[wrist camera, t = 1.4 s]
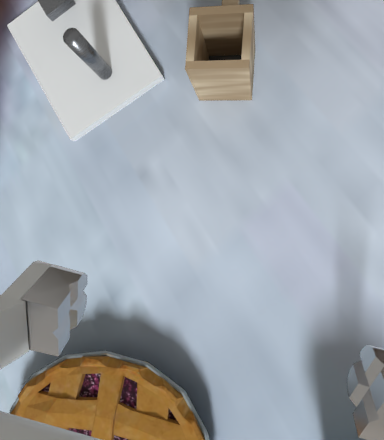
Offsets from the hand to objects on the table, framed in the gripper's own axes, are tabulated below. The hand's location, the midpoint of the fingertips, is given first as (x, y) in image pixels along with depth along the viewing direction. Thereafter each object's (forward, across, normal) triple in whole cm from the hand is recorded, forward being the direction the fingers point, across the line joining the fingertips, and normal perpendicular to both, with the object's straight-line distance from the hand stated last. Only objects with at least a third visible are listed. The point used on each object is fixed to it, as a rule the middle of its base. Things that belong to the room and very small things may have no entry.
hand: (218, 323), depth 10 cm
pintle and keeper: (+35, +19, -3) cm, 40 cm away
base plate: (+34, +19, -1) cm, 39 cm away
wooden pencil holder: (+33, +3, -5) cm, 34 cm away
